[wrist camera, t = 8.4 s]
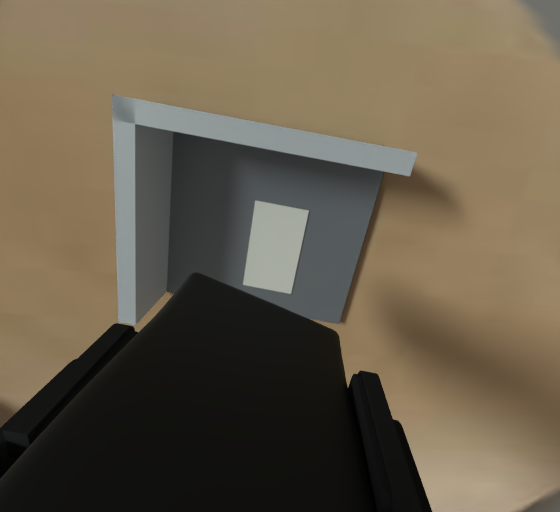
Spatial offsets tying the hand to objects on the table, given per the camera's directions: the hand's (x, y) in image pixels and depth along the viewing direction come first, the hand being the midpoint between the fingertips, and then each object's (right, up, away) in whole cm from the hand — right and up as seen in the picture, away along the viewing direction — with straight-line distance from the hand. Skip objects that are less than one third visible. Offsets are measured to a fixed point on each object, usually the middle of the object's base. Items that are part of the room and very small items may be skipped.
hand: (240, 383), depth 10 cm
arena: (0, +7, +13) cm, 15 cm away
